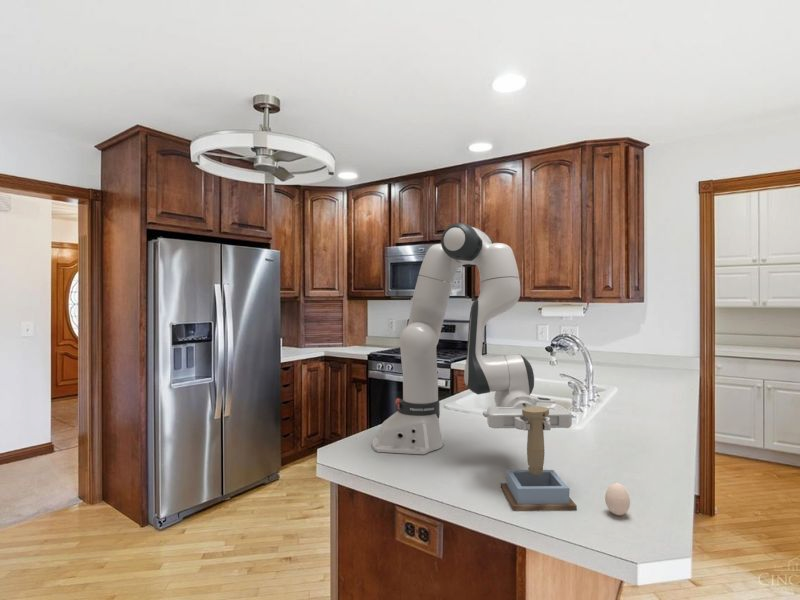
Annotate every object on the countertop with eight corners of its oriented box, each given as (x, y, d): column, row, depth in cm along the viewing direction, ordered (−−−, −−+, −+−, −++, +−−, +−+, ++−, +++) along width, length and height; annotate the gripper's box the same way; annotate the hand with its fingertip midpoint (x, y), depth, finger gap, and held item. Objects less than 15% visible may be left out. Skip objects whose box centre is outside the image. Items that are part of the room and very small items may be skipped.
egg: (608, 507, 101) (608, 477, 100) (632, 513, 98) (632, 482, 97) (602, 515, 97) (602, 484, 97) (626, 522, 94) (626, 490, 94)
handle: (518, 472, 106) (518, 408, 106) (537, 466, 109) (537, 405, 109) (534, 479, 102) (534, 413, 102) (553, 473, 105) (553, 409, 105)
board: (512, 510, 99) (512, 506, 99) (500, 487, 111) (500, 483, 111) (576, 510, 99) (576, 505, 99) (557, 486, 111) (557, 482, 111)
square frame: (517, 504, 100) (517, 488, 100) (506, 484, 110) (506, 470, 110) (569, 504, 100) (569, 488, 100) (553, 484, 110) (553, 469, 110)
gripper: (481, 399, 118) (492, 413, 104) (559, 398, 118) (580, 413, 104) (481, 423, 118) (492, 441, 104) (559, 422, 118) (580, 440, 104)
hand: (537, 427), depth 104 cm, fingers closed on handle, 3 cm apart
